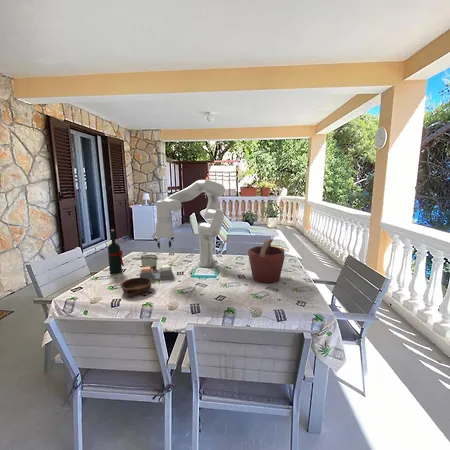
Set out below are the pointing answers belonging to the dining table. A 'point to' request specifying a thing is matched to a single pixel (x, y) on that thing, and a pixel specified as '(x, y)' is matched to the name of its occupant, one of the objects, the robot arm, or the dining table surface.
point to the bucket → (266, 262)
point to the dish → (136, 286)
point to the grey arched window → (149, 261)
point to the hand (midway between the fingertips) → (164, 247)
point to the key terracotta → (146, 269)
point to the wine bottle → (114, 256)
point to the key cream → (165, 267)
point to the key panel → (157, 274)
